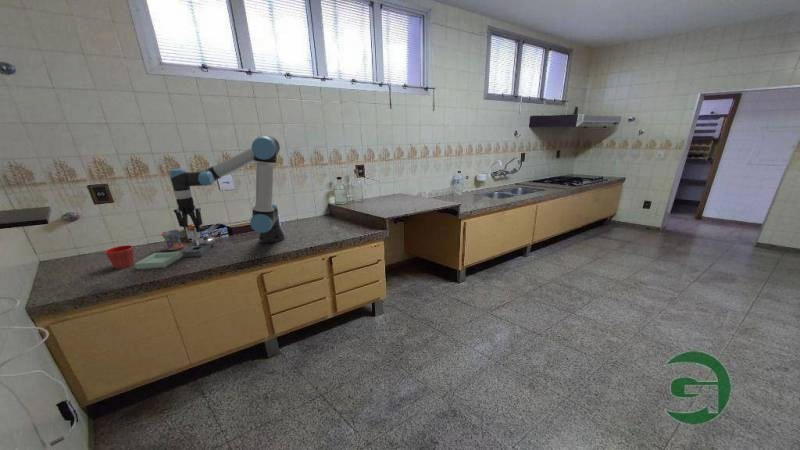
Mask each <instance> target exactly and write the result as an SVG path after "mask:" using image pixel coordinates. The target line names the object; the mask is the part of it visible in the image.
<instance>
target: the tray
mask: <svg viewBox="0 0 800 450" xmlns="http://www.w3.org/2000/svg"><path fill="white" fill-rule="evenodd" d="M181 253H182V252H181V251H180V252H179V251H175V252H172V251H171V252H154V253H152V254H151V255H148V256H146V257H144V258H142V259H141V260H139V261H137V262H134V266H135V268H136V270H142V269H143V270H145V269H165V268H166V267H168V266H170V265H172V264H173V263H175V262H176V261H177V260H179V259H181V258H182V256H183V255H182V254H181Z"/></svg>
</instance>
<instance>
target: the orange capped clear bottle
mask: <svg viewBox="0 0 800 450" xmlns="http://www.w3.org/2000/svg"><path fill="white" fill-rule="evenodd" d="M194 227H195V226H194V223H193V224H188V226H187V228H188V230H190V234H191V238H190V239H191V241H192V246H197V245H199V243H198V239H199V238H196V235H195V231H194Z"/></svg>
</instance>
